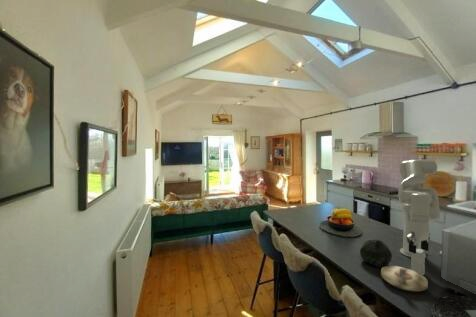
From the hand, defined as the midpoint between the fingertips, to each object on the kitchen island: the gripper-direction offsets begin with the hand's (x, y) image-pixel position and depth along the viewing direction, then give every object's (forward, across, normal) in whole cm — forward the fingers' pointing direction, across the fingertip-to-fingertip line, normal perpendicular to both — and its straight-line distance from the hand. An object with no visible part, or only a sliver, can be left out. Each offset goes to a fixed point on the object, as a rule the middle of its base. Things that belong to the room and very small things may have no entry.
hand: (418, 251), depth 116 cm
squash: (+12, +10, -16) cm, 22 cm away
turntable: (+11, +15, +2) cm, 19 cm away
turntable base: (+12, +15, +2) cm, 20 cm away
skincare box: (+12, -1, -1) cm, 12 cm away
